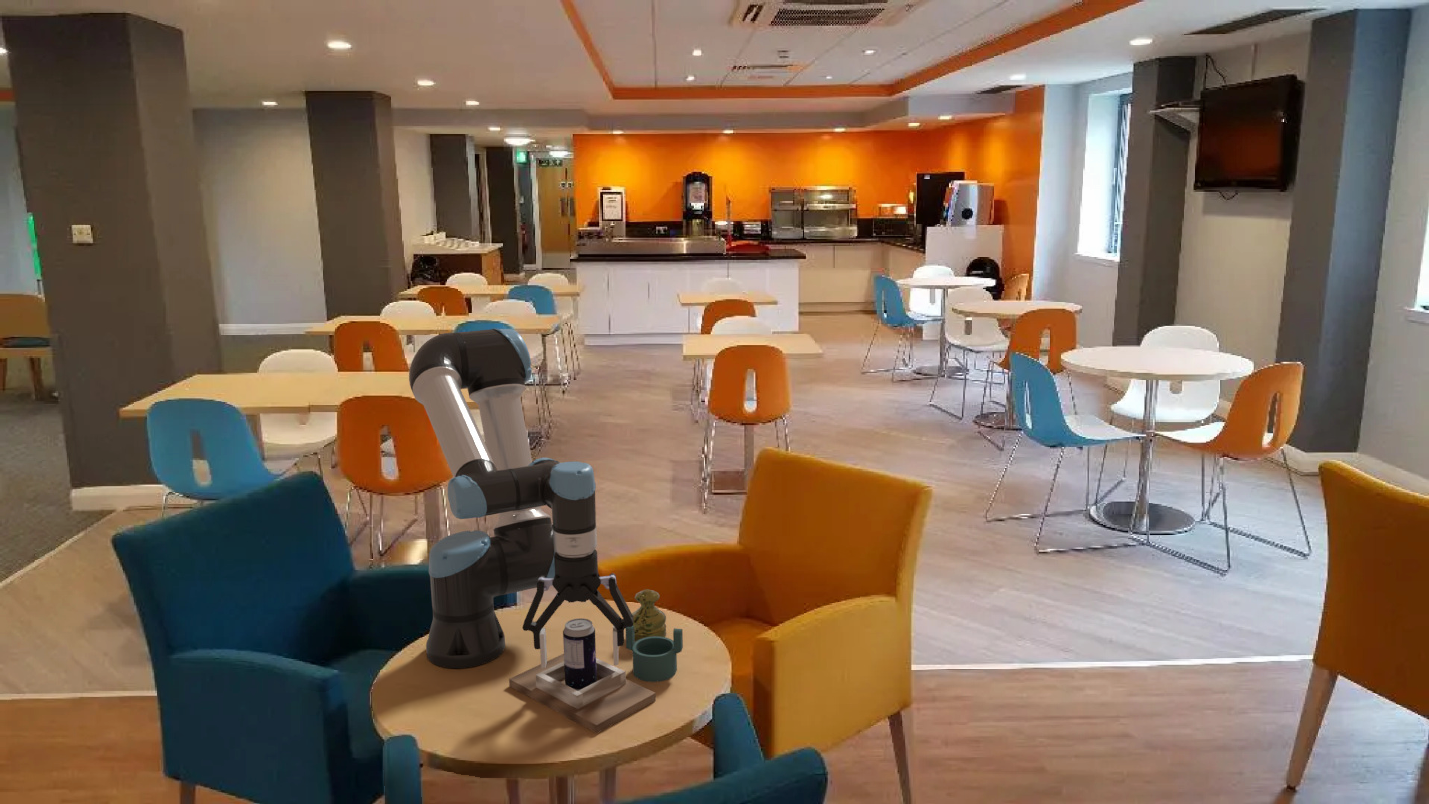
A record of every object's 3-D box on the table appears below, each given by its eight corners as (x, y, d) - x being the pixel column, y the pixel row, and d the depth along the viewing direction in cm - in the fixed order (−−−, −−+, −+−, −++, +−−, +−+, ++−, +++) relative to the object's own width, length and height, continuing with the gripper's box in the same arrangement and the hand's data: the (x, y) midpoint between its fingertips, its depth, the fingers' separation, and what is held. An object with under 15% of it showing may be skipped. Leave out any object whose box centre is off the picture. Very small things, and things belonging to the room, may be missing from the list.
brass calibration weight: (673, 635, 198) (673, 589, 196) (648, 648, 193) (647, 601, 190) (648, 625, 203) (647, 580, 201) (622, 637, 197) (621, 591, 195)
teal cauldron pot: (686, 674, 182) (686, 630, 181) (642, 686, 178) (641, 641, 176) (664, 655, 190) (663, 612, 188) (621, 667, 185) (620, 623, 184)
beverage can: (599, 690, 173) (597, 628, 171) (567, 695, 172) (565, 633, 169) (594, 676, 179) (591, 615, 176) (563, 680, 177) (560, 619, 175)
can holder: (509, 686, 178) (508, 666, 177) (568, 658, 189) (567, 639, 188) (596, 733, 163) (596, 711, 162) (655, 700, 173) (655, 680, 172)
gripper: (501, 560, 165) (508, 675, 170) (645, 556, 167) (647, 670, 171) (508, 544, 173) (514, 655, 177) (645, 540, 174) (648, 650, 179)
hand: (580, 663), depth 174 cm, fingers open, 12 cm apart
